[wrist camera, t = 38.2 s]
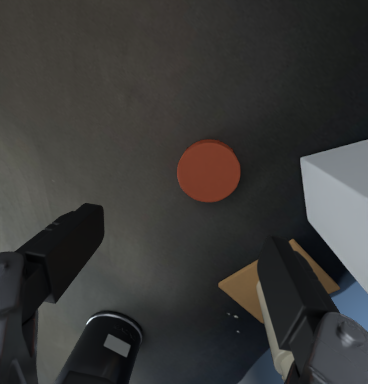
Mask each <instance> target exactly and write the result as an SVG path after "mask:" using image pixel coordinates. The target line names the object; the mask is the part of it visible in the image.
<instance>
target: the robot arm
mask: <svg viewBox="0 0 368 384" xmlns="http://www.w3.org/2000/svg"><path fill="white" fill-rule="evenodd" d="M103 237H104V212H103V207H102V206H101V205H95V204H89V203H85V204H83V205H82V206H81V207H79V208H78V209H77V210H76V211H71V212H69V213H67V214H64V215H62V216H60V217H59V218H58V219H56V220H55V221H54V222H52V224H50V225H48V226H47V227H46V228H45V230H42V231H41V232H39V233H38V234H37V235H35V236H34V237H33V238H32V239H30V240H29V241H28V242H26V243H25V244H24V245H23V246H21V247H20V248H19V249H17V250H16V251H15V252H1V253H0V384H38V378H37V369H36V356H37V334H38V308H39V306H40V305H41V304H42V303H43V302H49V303H54V304H56V302H57V301H58V300H59V298H60V297H61V296H62V294H63V293H64V292H65V290H66V289H67V288H68V287H69V285H70V284H71V283H72V281H73V280H74V279H75V277H76V276H77V275H78V273H79V272H80V271H81V269H82V268H83V267H84V265H85V264H86V263H87V261H88V260H89V259H90V258H91V256H92V255H93V254H94V252H95V251H96V250H97V248H98V247H99V246H100V244H101V243H102V240H103ZM257 274H258V277H259V281H260V284H261V288H262V291H263V295H264V298H265V302H266V305H267V309H268V312H269V315H270V319H271V322H272V326H273V329H274V333H275V336H276V340H277V343H278V347H279V349H280V350H285V351H290V352H292V354H293V357H294V361H293V362H292V364H291V367H290V369H289V372H288V375H287V377H286V380H285V383H284V384H368V332H367V331H366V330H365V329H364V328H363V327H362V326H361V325H359V324H358V323H357V322H355V321H354V320H352V319H351V318H349V317H347V316H345V315H343V314H340V312H339V310H338V309H337V307H336V306H335V304H334V302H333V301H332V299H331V298H330V296H329V294H328V293H327V291H326V290H325V288H324V286H323V285H322V283H321V282H320V281H319V280H318V279H319V278H318V277H317V275H316V274H315V272H313V269H312V267H311V266H310V264H309V263H308V261H307V260H306V259H305V258H304V257H303V256H302V255H301V254H300V253H299V252H298V251H294V250H293V248H292V246H291V245H290V243H289V241H288V240H287V239H286V238H282V237H277V236H271V235H269V236H267V238H266V240H265V243H264V245H263V248H262V251H261V253H260V256H259V258H258V262H257ZM142 338H143V333H142V330H141V328H140V327H139V325H138V324H137V323H136V322H135V321H133V320H132V319H130V318H129V317H127V316H125V315H122V314H119V313H116V312H109V311H104V312H98V313H96V314H94V315H92V316H91V317H90V319H89V321H88V322H87V326H86V327H85V329H84V331H83V333H82V335H81V336H80V338H79V340H78V342H77V343H76V345H75V347H74V349H73V351H72V352H71V354H70V356H69V358H68V360H67V361H66V363H65V365H64V367H63V369H62V370H61V372H60V374H59V376H58V377H57V379H56V381H55V383H54V384H129V380H130V377H131V374H132V370H133V367H134V364H135V360H136V357H137V353H138V350H139V347H140V344H141V342H142Z"/></svg>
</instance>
